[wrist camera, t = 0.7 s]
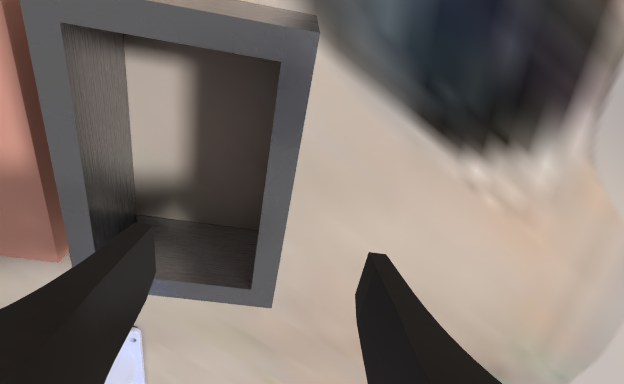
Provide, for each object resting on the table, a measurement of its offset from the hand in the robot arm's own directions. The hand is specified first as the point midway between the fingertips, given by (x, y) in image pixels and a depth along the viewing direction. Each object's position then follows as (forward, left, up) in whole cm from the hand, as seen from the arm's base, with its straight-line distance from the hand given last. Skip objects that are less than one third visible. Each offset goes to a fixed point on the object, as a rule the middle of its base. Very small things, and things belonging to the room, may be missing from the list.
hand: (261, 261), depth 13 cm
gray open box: (0, +4, -9) cm, 10 cm away
